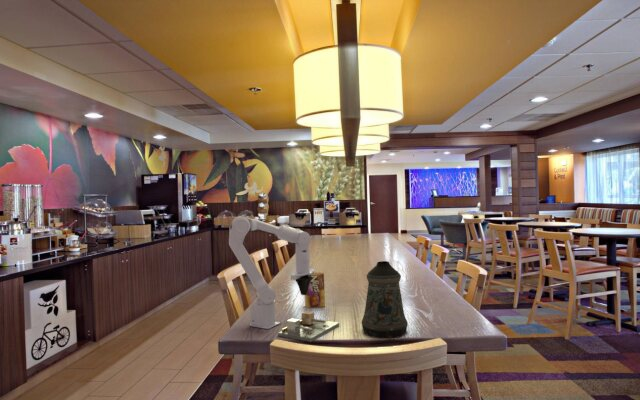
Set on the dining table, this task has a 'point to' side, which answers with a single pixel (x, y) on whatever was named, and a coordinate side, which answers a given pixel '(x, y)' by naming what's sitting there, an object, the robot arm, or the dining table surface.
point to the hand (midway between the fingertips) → (304, 294)
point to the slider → (309, 318)
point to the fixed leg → (295, 326)
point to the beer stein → (384, 303)
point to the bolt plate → (310, 331)
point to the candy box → (316, 291)
